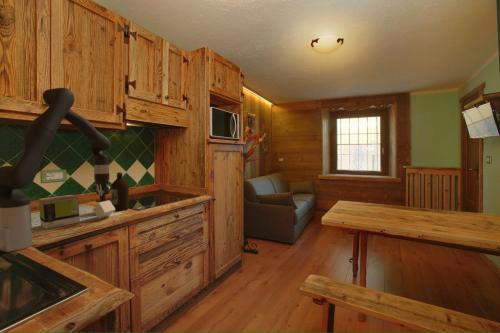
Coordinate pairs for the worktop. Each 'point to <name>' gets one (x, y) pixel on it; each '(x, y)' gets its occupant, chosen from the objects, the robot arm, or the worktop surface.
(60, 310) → the worktop surface
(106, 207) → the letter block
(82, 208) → the worktop surface
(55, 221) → the tea box
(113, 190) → the olive oil
